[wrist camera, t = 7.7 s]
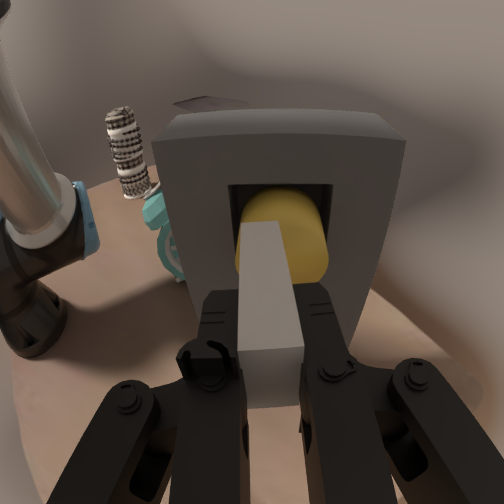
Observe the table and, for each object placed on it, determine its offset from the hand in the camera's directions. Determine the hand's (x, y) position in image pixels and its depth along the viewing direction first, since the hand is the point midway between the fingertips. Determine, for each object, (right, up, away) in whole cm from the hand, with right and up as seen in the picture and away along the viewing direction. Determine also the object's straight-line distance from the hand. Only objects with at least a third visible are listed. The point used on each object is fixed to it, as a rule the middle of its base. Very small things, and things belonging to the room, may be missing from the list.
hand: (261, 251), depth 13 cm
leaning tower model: (-33, +17, +68) cm, 77 cm away
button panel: (+3, -16, +26) cm, 31 cm away
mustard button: (+1, -1, +7) cm, 7 cm away
